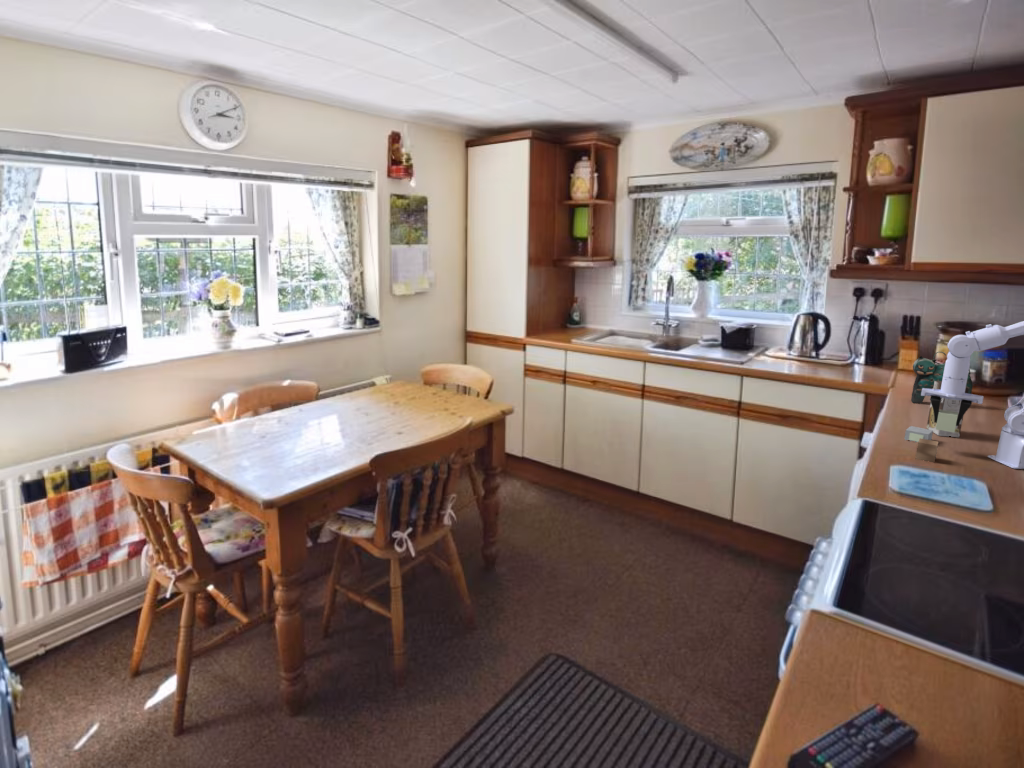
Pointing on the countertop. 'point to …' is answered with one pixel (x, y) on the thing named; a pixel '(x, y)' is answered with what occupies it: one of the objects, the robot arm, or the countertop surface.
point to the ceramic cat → (929, 377)
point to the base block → (918, 434)
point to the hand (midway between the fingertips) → (946, 423)
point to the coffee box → (949, 406)
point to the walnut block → (926, 450)
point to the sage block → (947, 420)
